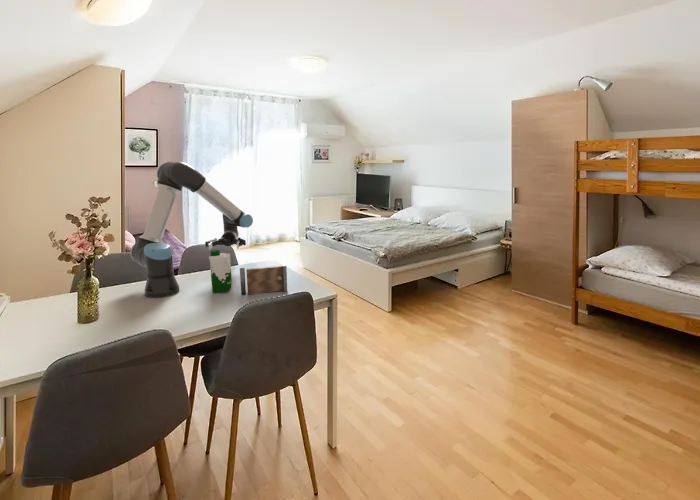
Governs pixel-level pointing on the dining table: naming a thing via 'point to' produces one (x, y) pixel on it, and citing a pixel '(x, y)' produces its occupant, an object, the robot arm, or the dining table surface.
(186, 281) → the dining table surface
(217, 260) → the soya milk
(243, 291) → the door frame
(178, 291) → the robot arm
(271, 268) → the door
